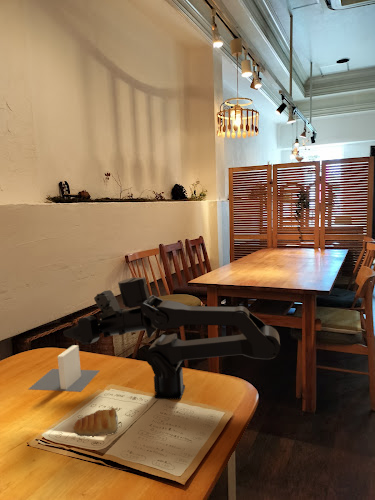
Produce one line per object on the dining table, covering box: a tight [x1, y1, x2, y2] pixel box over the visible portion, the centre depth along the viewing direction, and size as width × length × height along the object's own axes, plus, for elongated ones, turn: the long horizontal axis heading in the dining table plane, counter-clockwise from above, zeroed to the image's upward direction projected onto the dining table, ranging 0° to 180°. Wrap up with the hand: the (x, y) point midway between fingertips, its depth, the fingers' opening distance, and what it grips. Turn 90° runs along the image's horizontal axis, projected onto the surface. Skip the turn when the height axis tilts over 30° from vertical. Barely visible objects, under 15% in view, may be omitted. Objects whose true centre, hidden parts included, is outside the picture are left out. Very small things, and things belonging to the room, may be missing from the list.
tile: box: [57, 344, 82, 389], centre depth 100 cm, size 2×8×9 cm, turn 166°
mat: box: [28, 368, 100, 393], centre depth 102 cm, size 15×12×1 cm
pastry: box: [72, 407, 119, 438], centre depth 80 cm, size 9×7×4 cm
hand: (73, 330), depth 97 cm, fingers open, 9 cm apart
